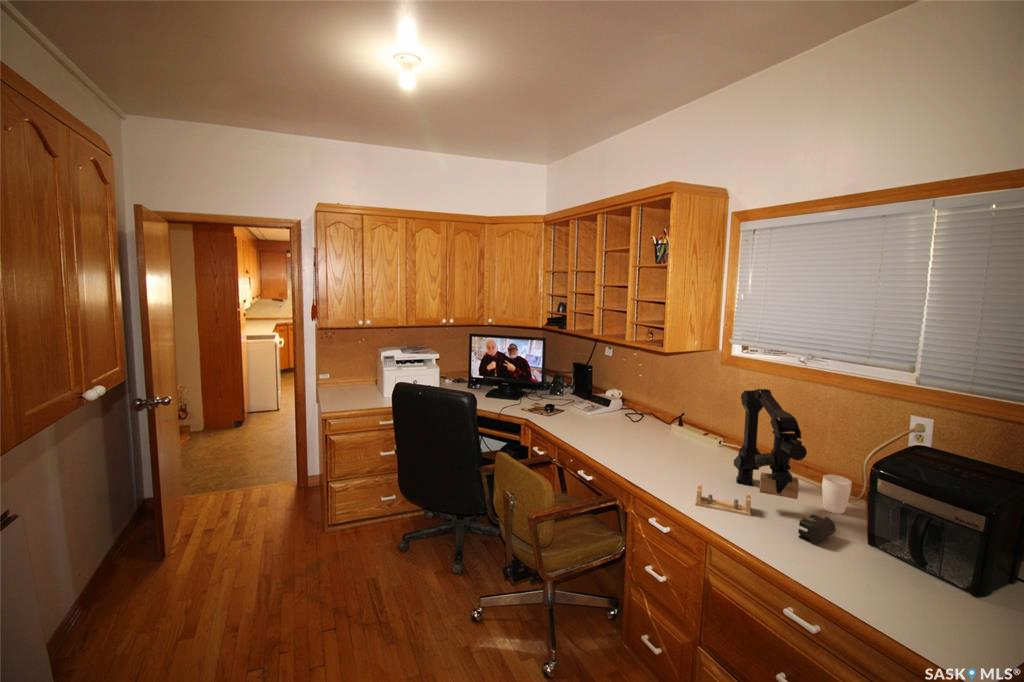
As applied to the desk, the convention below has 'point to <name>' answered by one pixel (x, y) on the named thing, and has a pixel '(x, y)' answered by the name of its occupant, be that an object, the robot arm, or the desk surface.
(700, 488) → the peg frame
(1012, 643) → the desk surface
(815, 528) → the end cap
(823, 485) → the cup
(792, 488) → the brown rectangular block
